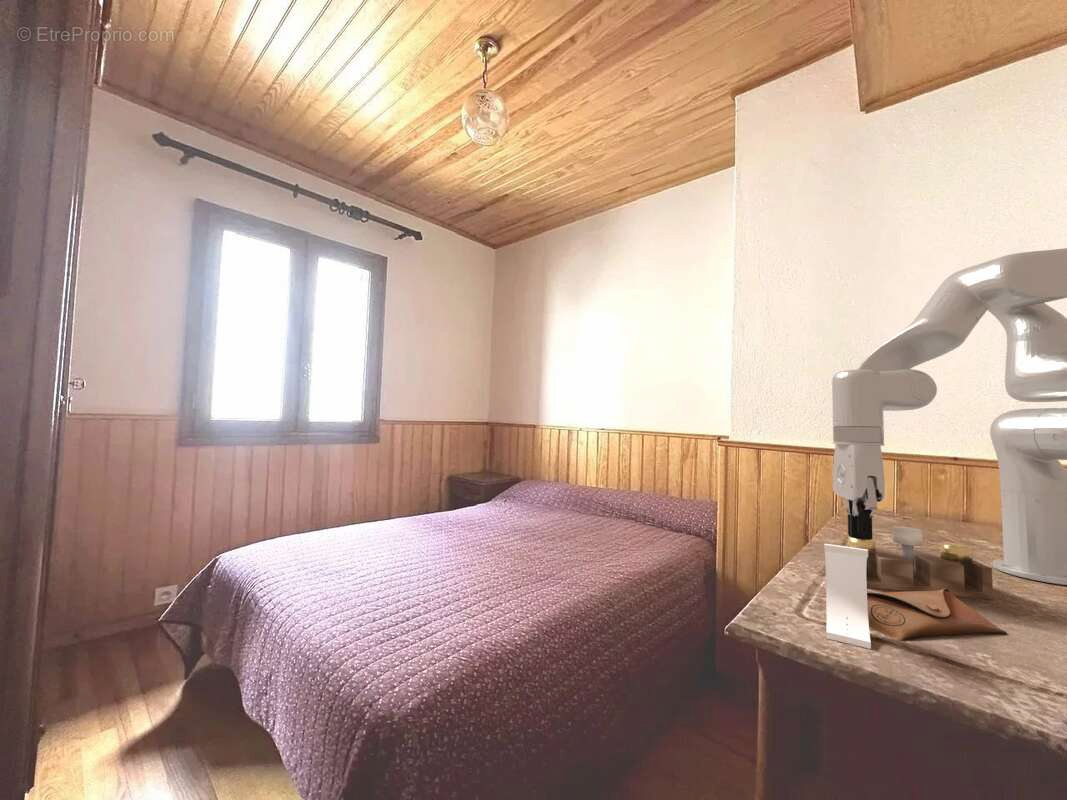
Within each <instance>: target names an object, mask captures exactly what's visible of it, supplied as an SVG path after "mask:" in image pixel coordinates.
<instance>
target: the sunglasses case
mask: <svg viewBox="0 0 1067 800" xmlns="http://www.w3.org/2000/svg"><path fill="white" fill-rule="evenodd" d="M867 607H868V622H869V629H872V630H875V631H876V632H878V633H881V634H883V635H885V636H887V637H890V638H892V639H895V641H897V642H899V641H900V642H903V641H904V642H905V641H910V640H916V639H925V638H927V639H928V638H935V637H936V638H937V637H950V636H951V637H952V636H970V635H1001V634H1007V631H1005V630H1003V629H1001V628H1000V627H998V625H996V624H993V622H991V621H989V620H988V619H987V618H985V617H984V616H982V615H981V614H980V613H978V612H977V611H975V610H974V609H972V608H971V607H970V606H969V605H967V604H966V603H964V602H963V601H961V600H960V599H959V598H958V597H957V596H953V595H951V594H950V593H949V590H948V589H941V590H937V591H893V592H891V591H889V592H888V591H887V592H873V591H872V592H870V591H867Z"/></svg>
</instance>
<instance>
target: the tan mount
mask: <svg viewBox="0 0 1067 800" xmlns="http://www.w3.org/2000/svg"><path fill="white" fill-rule="evenodd" d="M837 545H838V546H846V547H848V545H843V544H837ZM866 582H867V588H871V589H872V588H873V589H881V590H882V589H883V590H891V591H900V592H907V591H937V590H941V589H948V590H949V593H950V594H951V595H953V596H955V597H961V598H962V597H963V598H974V599H982V600H983V599H984V600H994V586H993V585H994V584H993V568H992V567H990V566H988V565H986V564H982V563H980V562H978V561H977V560H974V559H973V562H971V563H965V562H963V565H961V564H959V563H956V562H954V561H952V560H947V559H944V558H942V557H941V554H938V553H936V552H933V551H920V550H914V567H913V561H911V560H909V559H907V558H905V557H903V556H902V554H899V553H897V552H895V551H894V550H892V549H889V548H884V547H883V548H882V547H876V554H874V555H868V575H866Z"/></svg>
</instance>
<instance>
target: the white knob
mask: <svg viewBox="0 0 1067 800" xmlns="http://www.w3.org/2000/svg"><path fill="white" fill-rule="evenodd" d="M892 541H893V542H894V543H895V544H896V543H897V544H900V545H901V556H903V557H905V558H907V559H909V560H911V561H913V567H914V551H915V550H914V548H915V547H922V546H923V544H924V543H923V542H924V541H923V531H922V529H919V528H913V527H907V526H892Z"/></svg>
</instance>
